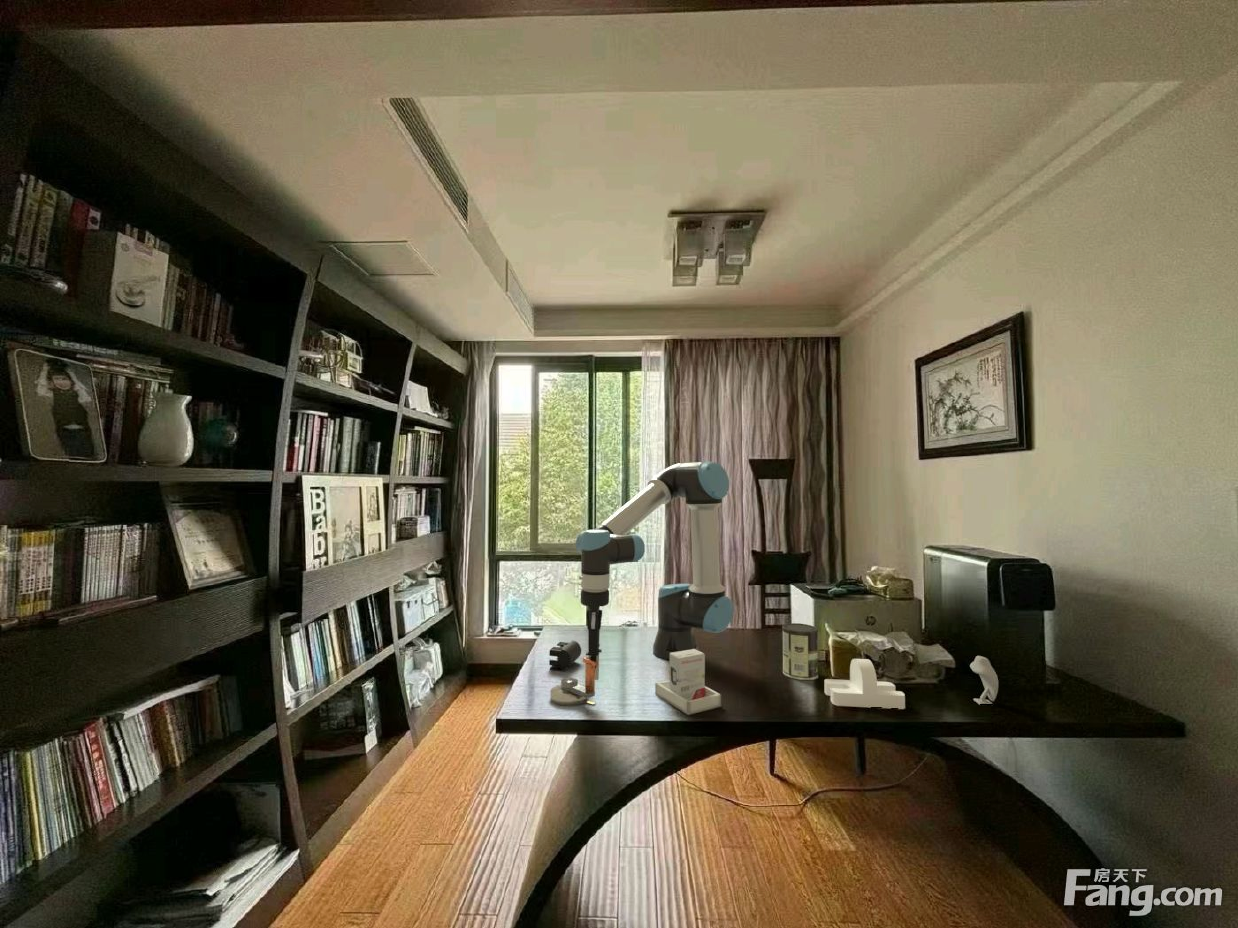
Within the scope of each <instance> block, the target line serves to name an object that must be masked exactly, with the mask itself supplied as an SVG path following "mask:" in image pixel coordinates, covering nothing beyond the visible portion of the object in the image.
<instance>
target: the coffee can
mask: <svg viewBox="0 0 1238 928" xmlns="http://www.w3.org/2000/svg"><path fill="white" fill-rule="evenodd" d="M781 628H782V629H781V630H782V673H783V675H784V676H785V677H788V678H791V679H793V680H798V681H799V680H800V681H813V680H817V679H819V669H818V668H819V667H818V666H819V665H818V664H819V663H818V661H819V660H818V659H819V658H818V654H819V653H818V651H819V649H818V632H819V629H818V628H817V627H816V626H814V625H811V624H805V623H800V622H799V623H798V622H797V623H795V622H793V623H789V622H788V623H784V624H783V625H782V626H781Z"/></svg>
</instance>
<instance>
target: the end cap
mask: <svg viewBox="0 0 1238 928" xmlns="http://www.w3.org/2000/svg"><path fill="white" fill-rule="evenodd" d="M548 653H549V657H556V659H548V660H549V662H548V663H549V664H548V665H549V666H550V667H549V670H550V671H557V672H564V671H566V670H567V669H568V668H570V666H571V665H572V664H573V663H575V662H576V661H577V660H578V659H579V657H580V656H581V655H582V646H581V645H580V643H579V642H578V641H576V640H573V639H572V640H571V641H570V642H563V641H559V642H558V643H557V644H556V646H553V647H551V648H550V649H549V652H548Z"/></svg>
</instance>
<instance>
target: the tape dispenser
mask: <svg viewBox="0 0 1238 928" xmlns="http://www.w3.org/2000/svg"><path fill="white" fill-rule="evenodd" d="M823 681H824V682H823V683H824V684H823V685H824V690H823V692H824V694H825V695H826V696H829V697H830V702H831V703H832V704H833V705H834V706H837V707H856V708H871V707H882V708H881V709H891V708H898V709H897V710H904V709H906V695H905V693H904V692H903V691H900V690H896V685H895V684H894V683H893V682H890V681H878V679H877V673H876V669H875V666H874V664H873V662H872V661H871V660H870V659H868V658H852V659H851V661H850V666H849V679H835V678H833V679H832V678H825V679H824V680H823Z"/></svg>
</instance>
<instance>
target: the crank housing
mask: <svg viewBox="0 0 1238 928" xmlns="http://www.w3.org/2000/svg"><path fill="white" fill-rule="evenodd" d="M578 684H579V685H582V686H584V687H585V685H584V684H581V683H578ZM549 694H550V698H549V699H550V702H551V703H552V704H555V705H557V706H563V707H574V706H579V705H582V704H584V703H585V704H588V705H591V706H595V705H596V703H595V702H592V701H590V700H588V699H589V698H588V699H587V698H585V697H583V696H580V695H578V694H576V693H573V692H565V691H562V690H561V683H560V684H557V685H555V686H553V687H552V688H551V689H550V693H549Z"/></svg>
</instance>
